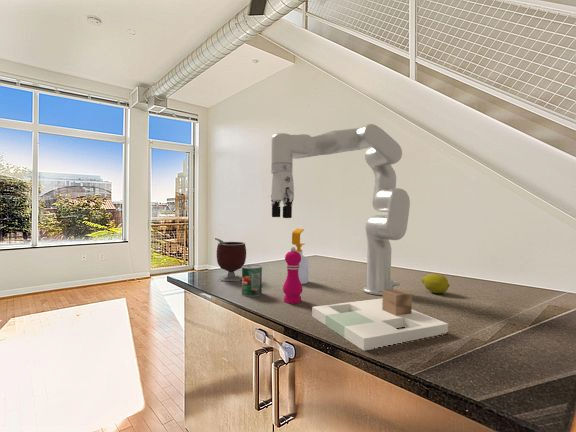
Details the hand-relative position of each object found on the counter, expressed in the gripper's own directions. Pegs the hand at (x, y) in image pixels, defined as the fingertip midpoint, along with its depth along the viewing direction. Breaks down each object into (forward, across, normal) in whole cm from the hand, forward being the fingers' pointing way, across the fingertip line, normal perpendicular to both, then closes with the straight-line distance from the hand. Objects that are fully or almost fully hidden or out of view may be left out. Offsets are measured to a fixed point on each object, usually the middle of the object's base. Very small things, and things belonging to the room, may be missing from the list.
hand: (281, 217), depth 117 cm
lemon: (+31, -11, -65) cm, 73 cm away
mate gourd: (+31, +45, +7) cm, 55 cm away
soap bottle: (+31, +27, -21) cm, 46 cm away
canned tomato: (+31, +16, +6) cm, 35 cm away
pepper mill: (+31, +1, -5) cm, 31 cm away
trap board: (+31, -31, -17) cm, 47 cm away
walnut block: (+28, -31, -25) cm, 49 cm away
